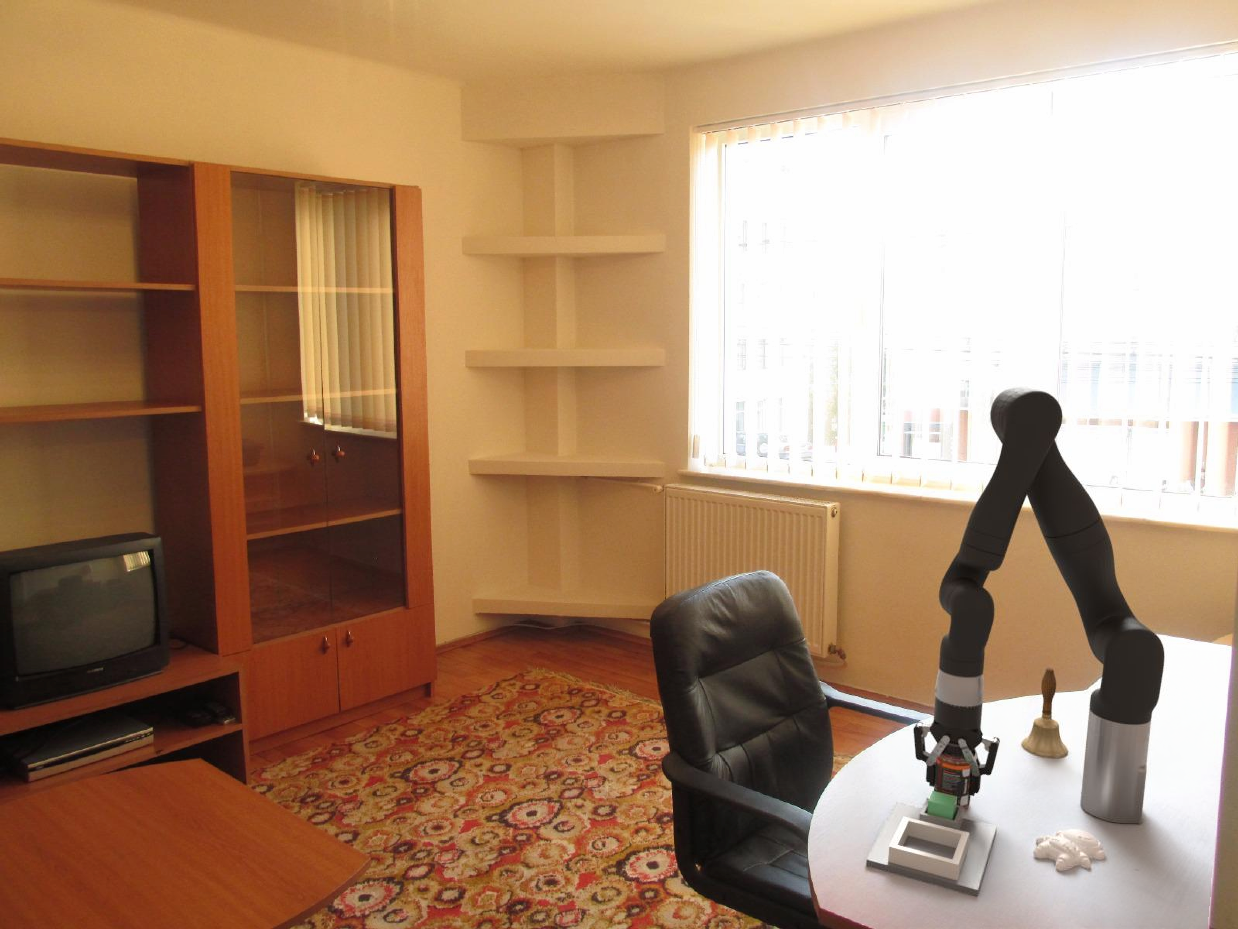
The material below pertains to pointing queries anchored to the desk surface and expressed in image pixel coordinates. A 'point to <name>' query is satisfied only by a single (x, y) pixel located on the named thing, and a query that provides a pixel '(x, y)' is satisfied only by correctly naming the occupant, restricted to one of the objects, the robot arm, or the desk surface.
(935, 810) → the button
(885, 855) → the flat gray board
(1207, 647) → the desk surface
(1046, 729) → the hand bell
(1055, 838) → the astronaut figurine
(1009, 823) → the desk surface
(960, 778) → the supplement bottle
